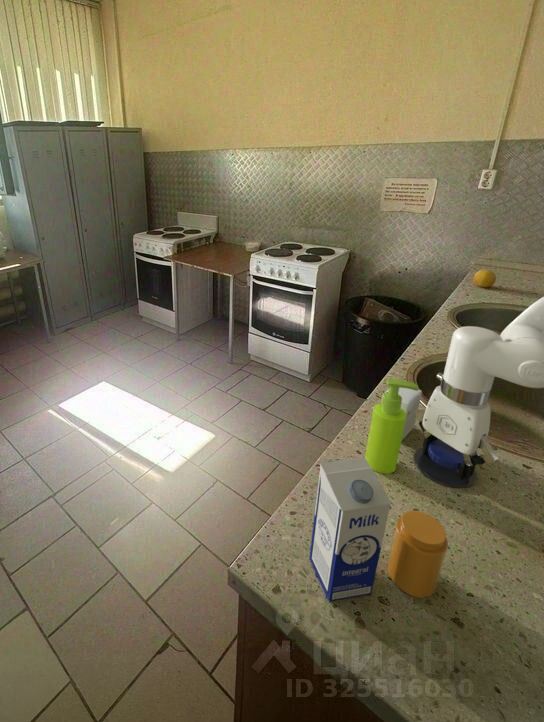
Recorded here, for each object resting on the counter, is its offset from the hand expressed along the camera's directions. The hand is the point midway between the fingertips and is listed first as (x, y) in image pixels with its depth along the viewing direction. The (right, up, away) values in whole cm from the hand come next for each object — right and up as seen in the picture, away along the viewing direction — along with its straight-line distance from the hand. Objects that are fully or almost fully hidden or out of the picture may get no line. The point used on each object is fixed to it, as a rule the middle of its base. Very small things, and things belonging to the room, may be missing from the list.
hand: (445, 463), depth 81 cm
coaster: (0, -1, 0) cm, 1 cm away
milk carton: (-30, -10, -20) cm, 37 cm away
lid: (0, +3, -1) cm, 3 cm away
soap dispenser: (-12, -1, +2) cm, 12 cm away
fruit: (+86, +41, +103) cm, 141 cm away
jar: (-19, -9, -20) cm, 29 cm away
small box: (-4, +3, +12) cm, 13 cm away
